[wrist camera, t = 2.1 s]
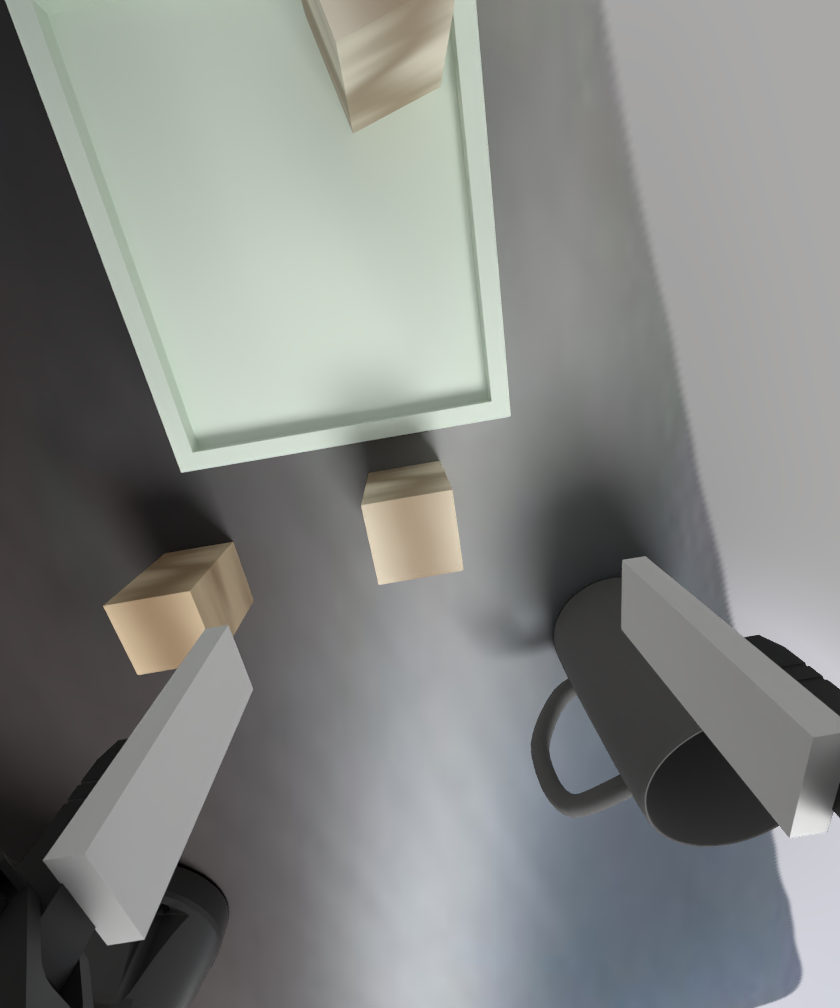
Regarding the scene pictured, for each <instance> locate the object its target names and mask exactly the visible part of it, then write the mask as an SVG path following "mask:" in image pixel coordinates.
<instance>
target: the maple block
mask: <svg viewBox="0 0 840 1008" xmlns="http://www.w3.org/2000/svg"><path fill="white" fill-rule="evenodd" d="M301 1H302V4H303V8H304V12H305V16H306V18H307V21H308V23H309V26H310V28H311V31H312V33H313V36H314V38H315V40H316V43H317V45H318V48H319V50H320V53H321V55H322V58H323V60H324V63H325V65H326V68H327V70H328V73H329V75H330V78H331V80H332V83H333V85H334V88H335V90H336V93H337V95H338V98H339V100H340V103H341V105H342V108H343V110H344V113H345V115H346V118H347V120H348V122H349V125H350V127H351V130H352V132H353V133H355V132H357V131H359V130H361V129H363V128H365V127H366V126H368V125H370V124H372V123H374V122H376V121H378V120H379V119H381V118H383V117H385V116H387V115H389V114H391V113H392V112H394V111H396V110H398V109H400V108H402V107H404V106H405V105H407V104H409V103H411V102H413V101H415V100H417V99H418V98H420V97H422V96H424V95H426V94H428V93H430V92H432V91H433V90H435V89H437V88H439V87H440V86H441V80H442V74H443V68H444V62H445V56H446V51H447V45H448V39H449V33H450V27H451V21H452V15H453V9H454V3H455V0H301Z"/></svg>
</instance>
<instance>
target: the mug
mask: <svg viewBox="0 0 840 1008" xmlns="http://www.w3.org/2000/svg"><path fill="white" fill-rule="evenodd" d="M621 606H622V577H615V578H609V579H605V580H601V581H599V582H596V583H594V584H591V585H589V586H588V587H586V588H584V589H583V590H581V591H580V592H578V593H577V594H576V595H575V596H574V597H572V598H571V599H570V600H569V602H568V603H567V604H566V605H565V606H564V608H563V609H562V611H561V613H560V615H559V617H558V619H557V622H556V625H555V630H554V644H555V649H556V652H557V655H558V657H559V660H560V662H561V664H562V666H563V668H564V670H565V672H566V674H567V676H568V679H567V680H565V681H564V682H562V683H561V684H560V685H559V686H558V687H557V688H556V689H554V691H553V692H552V694H551V695H550V697H549V698H548V699H547V701H546V703H545V705H544V707H543V709H542V711H541V713H540V715H539V717H538V720H537V722H536V725H535V728H534V731H533V735H532V741H531V754H532V760H533V764H534V768H535V772H536V775H537V777H538V780H539V783H540V785H541V788H542V790H543V792H544V793H545V795H546V797H547V798H548V800H549V802H550V803H551V804H552V805H553V806H554V807H555V808H556V809H557V810H558V811H560V812H561V813H562V814H564V815H566V816H570V817H584V816H588V815H591V814H594V813H598V812H600V811H602V810H605V809H607V808H609V807H612V806H614V805H616V804H618V803H620V802H622V801H624V800H626V799H628V798H630V797H632V796H633V797H634V799H635V801H636V802H637V804H638V806H639V807H640V809H641V811H642V812H643V814H644V815H645V817H646V818H647V820H648V821H649V822H650V824H651V825H652V826H653V827H654V828H655V829H656V830H657V831H658V832H659V833H660V834H662V835H663V836H665V837H666V838H668V839H670V840H672V841H675V842H678V843H681V844H685V845H690V846H700V847H712V846H723V845H729V844H734V843H738V842H742V841H745V840H749V839H751V838H754V837H757V836H759V835H762V834H764V833H766V832H768V831H770V830H772V829H774V828H776V827H778V826H779V824H778V823H777V822H776V821H775V820H774V818H773V817H772V816H771V815H770V813H769V812H768V811H767V810H766V808H765V807H764V806H763V805H762V803H761V802H760V801H759V800H758V798H757V797H756V796H755V795H754V793H753V792H752V791H751V790H750V788H749V787H748V786H747V785H746V783H745V782H744V781H743V780H742V779H741V777H740V776H739V775H738V774H737V772H736V771H735V770H734V769H733V767H732V766H731V765H730V764H729V762H728V761H727V760H726V759H725V757H724V756H723V755H722V754H721V752H720V751H719V750H718V749H717V747H716V746H715V745H714V744H713V742H712V741H711V740H710V739H709V738H708V736H707V735H706V734H705V733H704V731H703V730H702V729H701V728H700V726H699V725H698V724H697V723H696V721H695V720H694V719H693V718H692V716H691V715H690V714H689V713H688V711H687V710H686V709H685V708H684V706H683V705H682V704H681V703H680V701H679V700H678V699H677V698H676V697H675V695H674V694H673V693H672V692H671V690H670V689H669V688H668V687H667V685H666V684H665V683H664V682H663V680H662V679H661V678H660V677H659V675H658V674H657V673H656V672H655V670H654V669H653V668H652V667H651V665H650V664H649V663H648V662H647V661H646V659H645V658H644V657H643V656H642V654H641V653H640V652H639V651H638V649H637V648H636V647H635V646H634V644H633V643H632V642H631V641H630V639H629V638H628V637H627V636H626V634H625V633H624V632H623V631H622V629H621ZM575 696H578V698H579V699H580V701H581V703H582V705H583V707H584V709H585V711H586V713H587V715H588V716H589V718H590V720H591V722H592V724H593V726H594V728H595V729H596V731H597V733H598V735H599V737H600V739H601V740H602V742H603V744H604V746H605V748H606V750H607V751H608V753H609V755H610V757H611V759H612V760H613V762H614V764H615V766H616V768H617V769H618V771H619V773H620V775H618V776H616V777H614V778H612V779H610V780H608V781H606V782H604V783H602V784H600V785H598V786H596V787H594V788H592V789H590V790H587V791H585V792H582V793H580V794H571V793H569V792H568V791H567V790H566V789H564V787H563V786H562V784H561V783H560V781H559V779H558V777H557V775H556V773H555V771H554V768H553V765H552V762H551V759H550V753H549V746H550V740H551V737H552V733H553V730H554V728H555V725H556V722H557V720H558V718H559V716H560V714H561V712H562V710H563V709H564V707H565V706H566V704H567V703H568V702H569V701H570V700H571V699H572V698H574V697H575Z"/></svg>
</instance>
